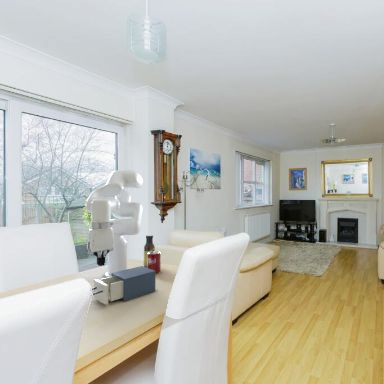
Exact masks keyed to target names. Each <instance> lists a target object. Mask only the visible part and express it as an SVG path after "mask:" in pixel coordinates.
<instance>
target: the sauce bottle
mask: <svg viewBox="0 0 384 384" xmlns="http://www.w3.org/2000/svg"><path fill="white" fill-rule="evenodd" d="M153 238H154V235H153V234H145V242H146V243H145V244H144V246H143V267H146V268H147V254H148V252H152V251H156V246H155V244H154V243H153V242H154V241H153Z"/></svg>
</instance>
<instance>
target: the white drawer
mask: <svg viewBox="0 0 384 384" xmlns="http://www.w3.org/2000/svg"><path fill="white" fill-rule="evenodd" d="M91 288H92V290H91V291H93V292H92V293H93V295H92V296H93V299H96V300H97V301H99V302H100V303H102V304H103V305H104V306H106V305H109V302H114V301H117V300H121V299H120V298H123V297H124V280H122V279H119V278H117V277H115V276H111V277H104V278H100V279H98V278H95V279H93V287H91Z"/></svg>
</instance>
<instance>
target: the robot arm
mask: <svg viewBox="0 0 384 384" xmlns="http://www.w3.org/2000/svg"><path fill="white" fill-rule="evenodd" d="M143 181H144V180H143V176H142V175H141V174H140V173H139V172H138V171H135V170H131V169H128V170H127V169H117V170H113V171H111V173H110V175H109V178H108V179H107V180H106V184H104V185H101V186H99V187H97V188H96V189H94V190H92V192H91V193H90V194H89V196H88V197H87V199H86V202H85V209H86V211H87V212H88V213H90V214H91V228H90V229H89V230H88V232H87V241H86V250H87V255H89V256H95V257H96V265H97V266H99V267H103V266H105V264H106V257H107V271H106V272H105V273H104V278H107V277H111V273H114V272H118V271H123V270H127V269H128V241H127V239H126V238H125V237H124V236H136V235H138V234H140V231H141V228H142V222H143V221H142V219H143V211H144V209H143V205H142V204H141V203H140V202H137V201H135V202H132V196H131V194H130V193H129V192H128V191H127V190H126V189H140V188H141V187H142V186H143V184H144V182H143ZM111 214H112V215H111ZM111 216H113V217H114V218H112V219H111Z"/></svg>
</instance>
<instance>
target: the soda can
mask: <svg viewBox="0 0 384 384" xmlns="http://www.w3.org/2000/svg"><path fill="white" fill-rule="evenodd" d="M161 259H162V253H161V251H158V250H155V251H152V252H148V254H147V268H149V269H151V270H154V271H155V276H157V275H159V274H161V270H162V269H161V266H162V265H161V263H162V260H161Z"/></svg>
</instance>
